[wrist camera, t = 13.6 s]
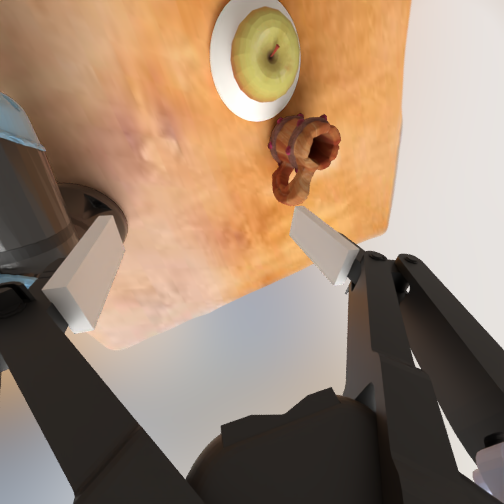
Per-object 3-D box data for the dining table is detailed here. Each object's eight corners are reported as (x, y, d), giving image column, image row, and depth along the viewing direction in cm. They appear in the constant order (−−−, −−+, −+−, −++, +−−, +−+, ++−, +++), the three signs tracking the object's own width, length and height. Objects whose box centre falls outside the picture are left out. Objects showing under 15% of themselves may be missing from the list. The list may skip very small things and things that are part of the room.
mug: (277, 102, 36) (323, 98, 25) (310, 123, 40) (364, 128, 28) (247, 180, 43) (272, 206, 31) (278, 191, 46) (311, 219, 35)
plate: (211, 117, 35) (212, 118, 34) (206, -18, 26) (207, -24, 25) (288, 124, 39) (291, 124, 38) (305, 8, 30) (309, 4, 29)
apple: (282, 13, 29) (310, -14, 23) (287, 96, 35) (311, 93, 29) (218, 26, 28) (230, 2, 22) (235, 109, 34) (248, 109, 28)
